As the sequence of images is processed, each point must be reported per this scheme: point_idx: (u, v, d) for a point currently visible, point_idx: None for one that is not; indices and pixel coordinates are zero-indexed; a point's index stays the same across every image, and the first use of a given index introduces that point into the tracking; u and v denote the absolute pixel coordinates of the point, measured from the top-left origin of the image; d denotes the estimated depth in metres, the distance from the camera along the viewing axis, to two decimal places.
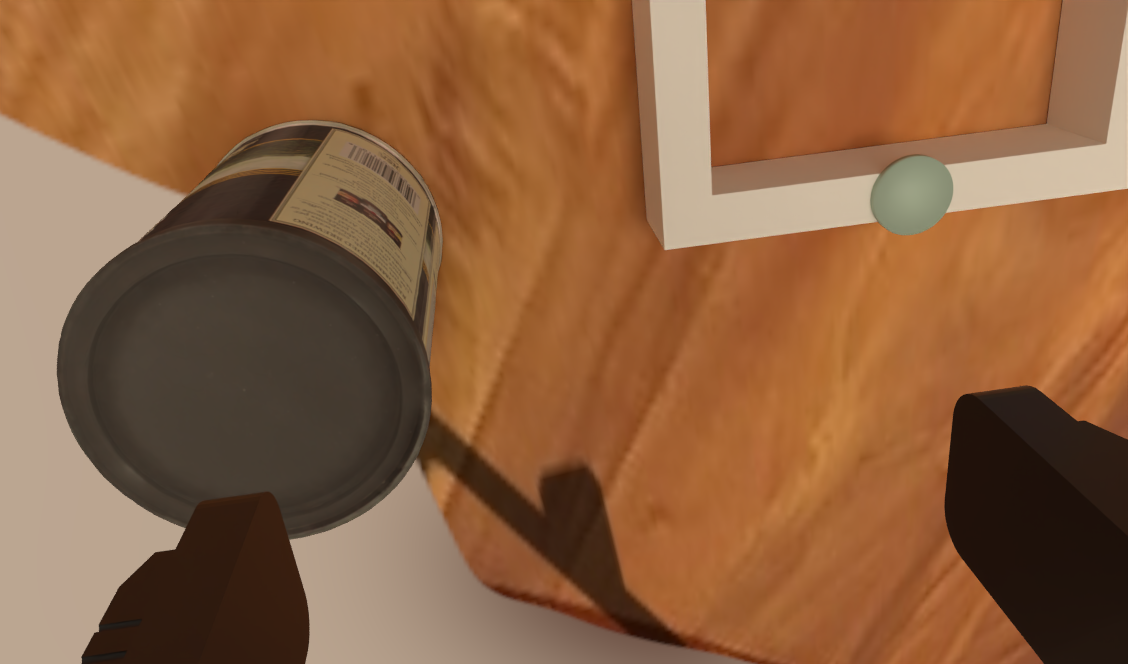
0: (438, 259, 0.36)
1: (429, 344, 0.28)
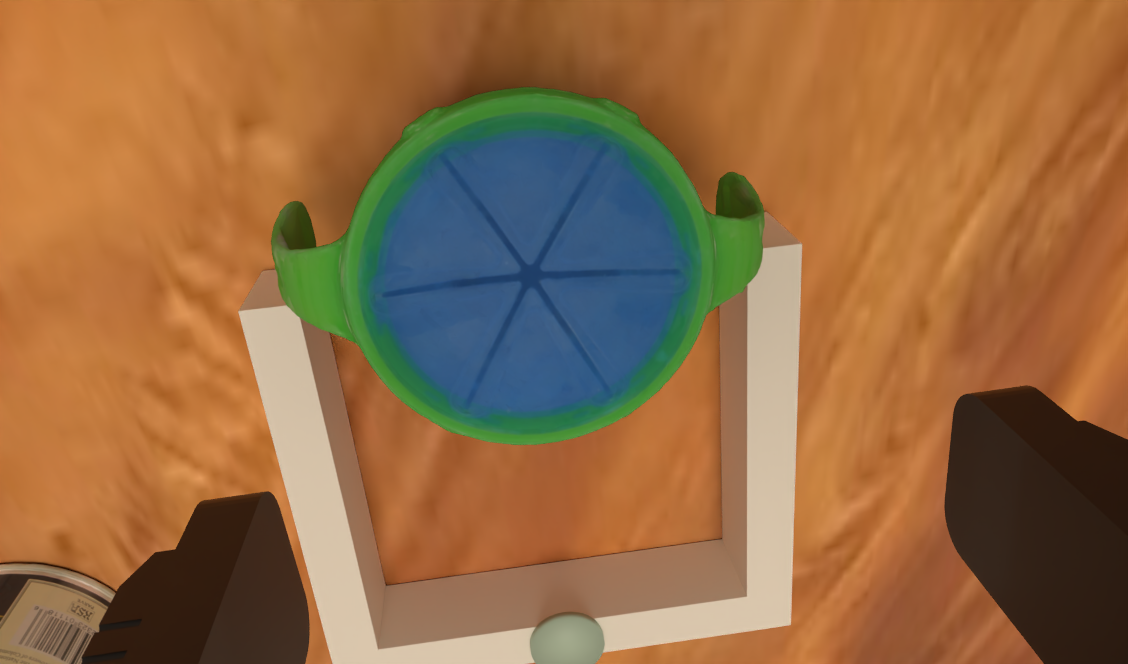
0: None
1: None
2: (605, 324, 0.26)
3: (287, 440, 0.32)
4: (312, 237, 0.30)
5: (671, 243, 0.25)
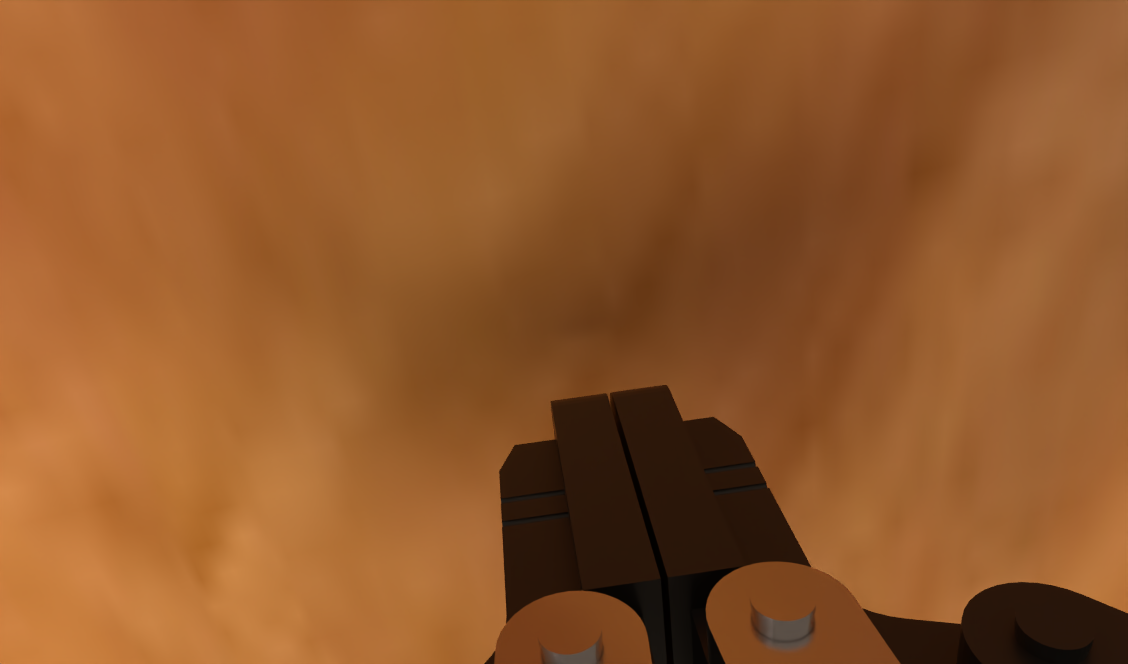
0: None
1: None
2: None
3: None
4: None
5: None
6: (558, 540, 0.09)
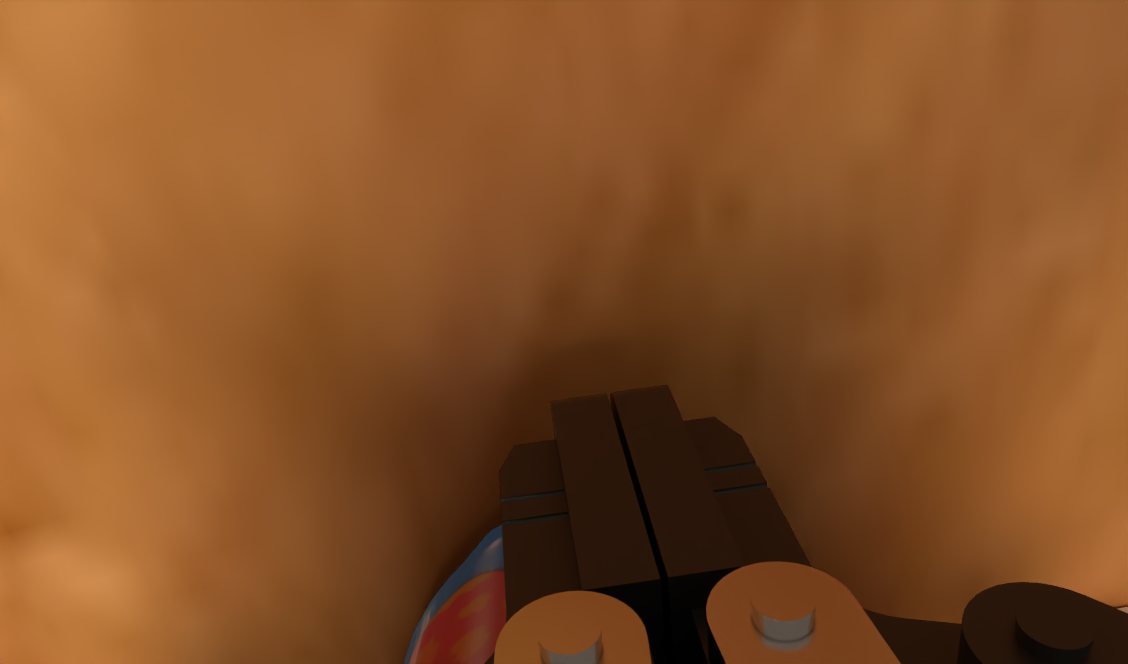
0: None
1: None
2: None
3: None
4: None
5: None
6: (557, 540, 0.09)
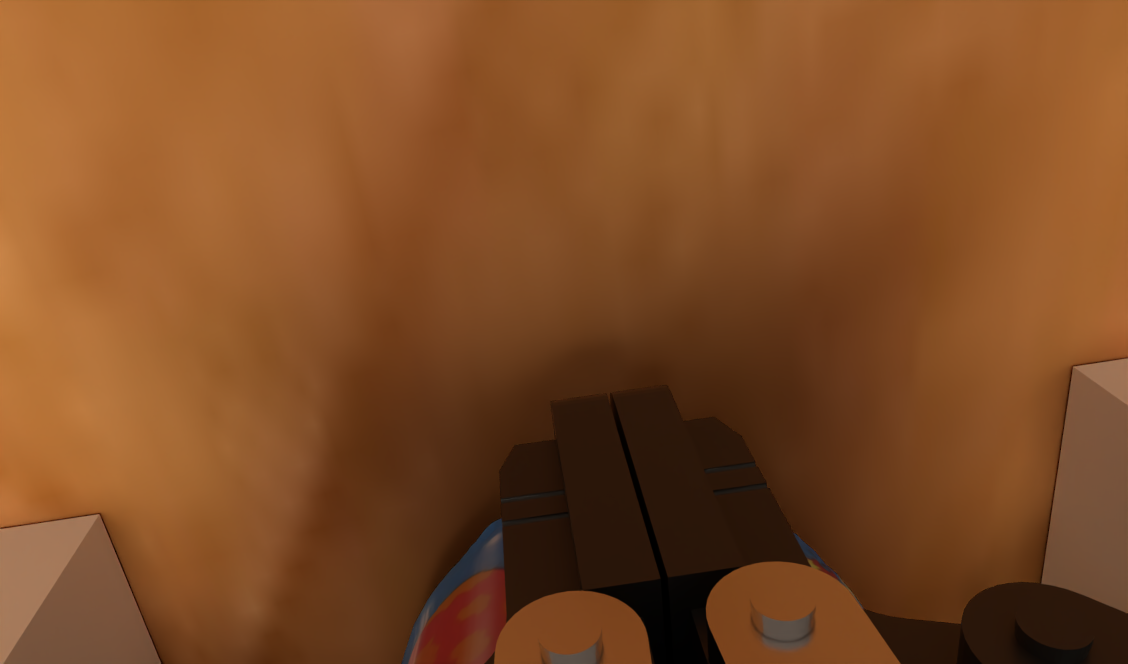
0: None
1: None
2: None
3: None
4: None
5: None
6: (558, 540, 0.09)
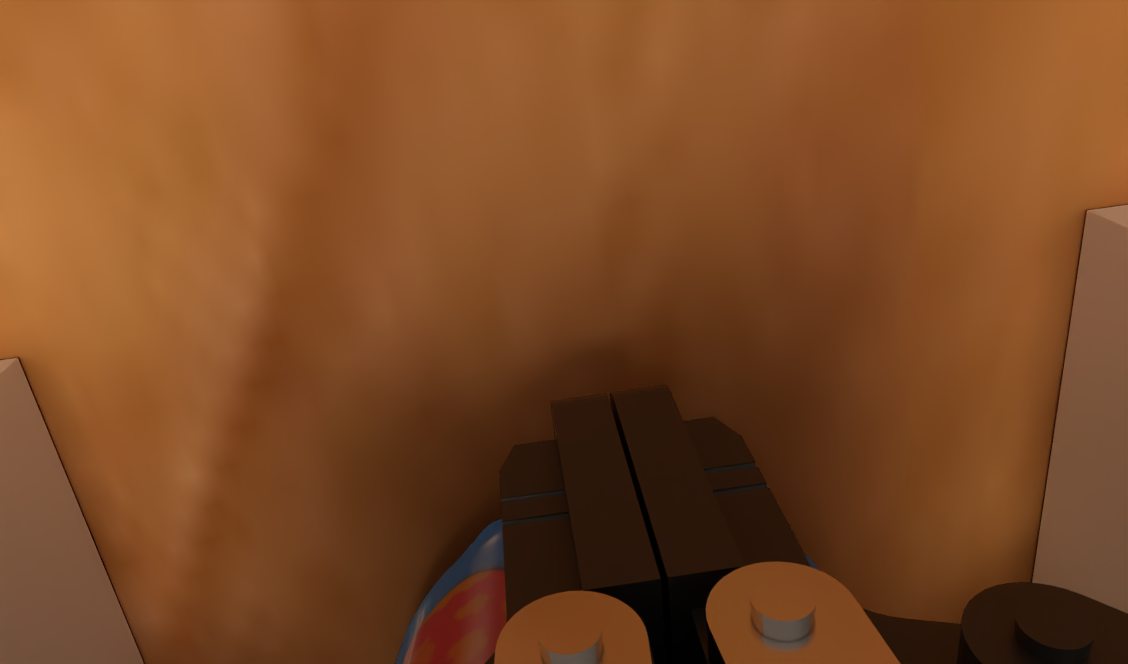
0: None
1: None
2: None
3: None
4: None
5: None
6: (557, 541, 0.09)
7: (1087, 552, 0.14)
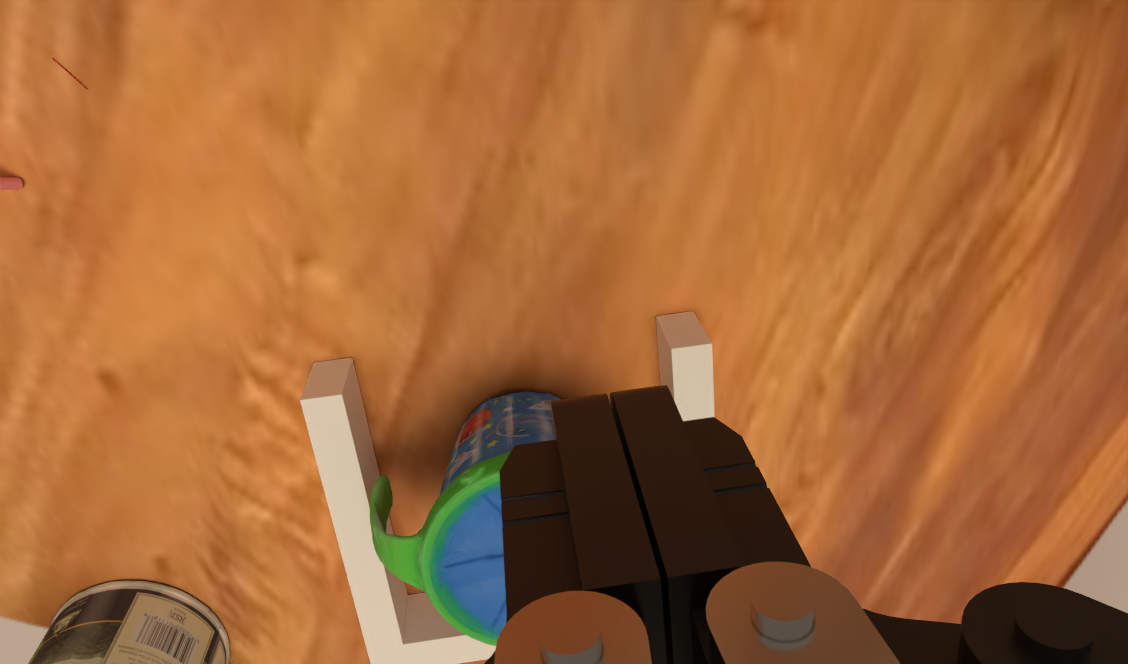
0: None
1: None
2: None
3: (334, 490, 0.44)
4: (390, 495, 0.45)
5: None
6: (557, 540, 0.09)
7: None
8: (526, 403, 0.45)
